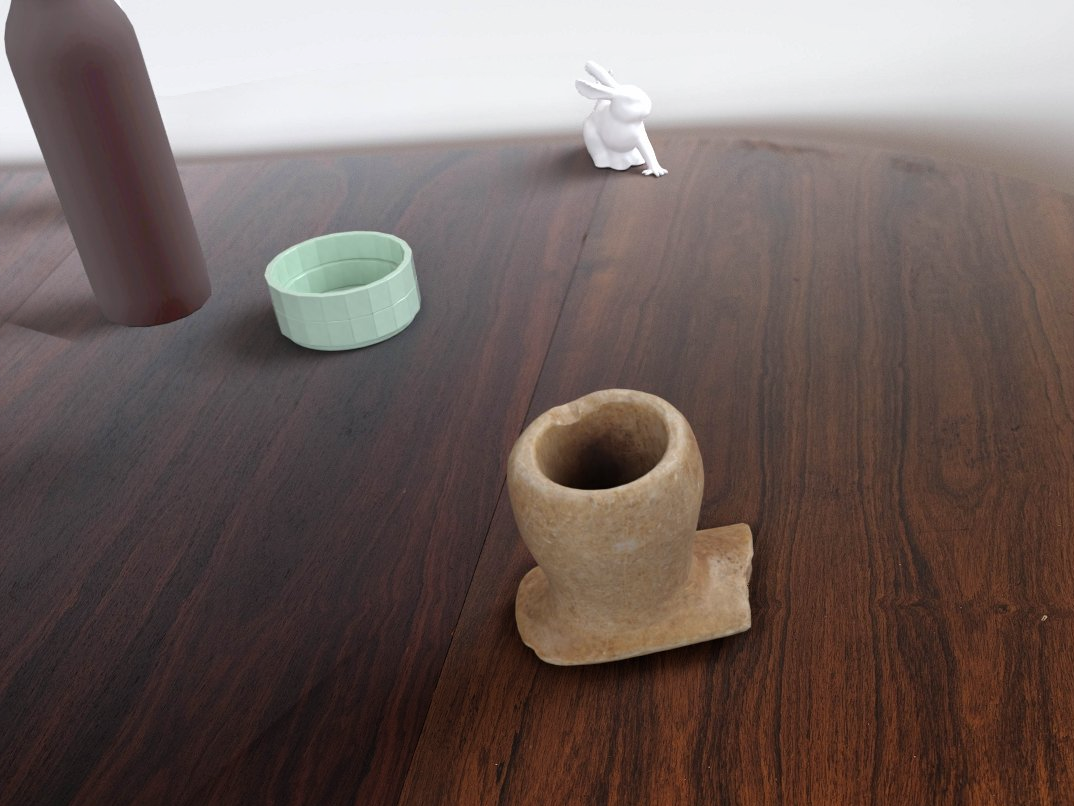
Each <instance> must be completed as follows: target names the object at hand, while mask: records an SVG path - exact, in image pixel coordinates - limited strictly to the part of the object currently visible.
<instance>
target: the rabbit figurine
mask: <svg viewBox="0 0 1074 806" xmlns="http://www.w3.org/2000/svg"><path fill="white" fill-rule="evenodd" d="M584 70H585V72H586V73H587V74H589V75H590V76H592V77H593V78H595V82H596V83H594V82H590V81H587V80H584V79H579V78H578V79H576V80H575V82H574V83H575V89H576V91H577V93H578V94H579V95H581V96H582V97H584V98H586V99H588V100H596V102H595V105H594V106H593V111H591V112H590V113H589V114H588V116H586V117H585V118H584V120H583V121H582V136H583V140H584V144H585V147H586V149H587V152H588V154H589V155H590V157H591V159H592V160H593V163H594V166H595V167H597V168H611V169H614V170H616V171H623V170H628V169H629V168H630V167H631V166H639V165H643V164H646V166H647V167H648V168H647V169H644V170H643V171H642V172H641V174H644V175H645V176H649V175H651V174H654V175H655V176H656V177H660V176H664V175H665V174H669V172H668V170H667V169H664V168H662V166H660V165H659V162H658V160H657V157H656V154H655V151H654V149H653V146H652V144H651V142H650V140H649V137H648V135H647V132H646V129H645V125H644V122H643V120H644V119H646V118H648V117H649V116H650V114H651V111H652V101H651V99H650V97H649V96H648V94H647V93H646V92H645V91H643V90H642V89H641V88H639V87H638V86H636V85H633V84H619V83H617V81H616V80H615V79H614V77H613V76H614V73H613V70H612V69H611V68H610V69H609V70H608V71H607V70H606V69H605V68H604V67H602V66H601V65H598V64H597V63H596V62H594V61H593V60H588V61H586V62H585V64H584Z"/></svg>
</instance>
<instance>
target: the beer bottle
mask: <svg viewBox="0 0 1074 806" xmlns="http://www.w3.org/2000/svg"><path fill="white" fill-rule="evenodd" d="M9 4H10V5H9V9H8V13H7V16H6V20H5V24H4V35H3V36H4V37H3V39H4V50H5V55H6V58H7V62H8V64H9V67H10V70H11V73H12V76H13V78H14V82H15V85H16V87H17V90H18V92H19V95H20V98H21V100H22V104H23V105H24V109H25V111H26V114H27V117H28V119H29V122H30V125H31V128H32V130H33V133H34V135H35V139H36V141H37V144H38V147H39V149H40V152H41V155H42V158H43V160H44V163H45V165H46V168H47V171H48V174H49V176H50V179H51V182H52V185H53V187H54V191H55V193H56V196H57V198H58V201H59V203H60V206H61V209H62V211H63V214H64V217H65V220H66V223H67V225H68V228H69V230H70V233H71V237H72V239H73V242H74V244H75V247H76V249H77V252H78V255H79V258H80V261H81V263H82V265H83V269H84V271H85V273H86V274H85V275H86V277H87V280H88V282H89V284H90V285H89V286H90V288H91V290H92V292H93V295H94V297H95V299H96V302H97V304H98V306H99V308H100V310H101V312H102V315H103V316H104V317H105V318H106V319H107V320H108V321H109V322H111V323H113V324H117V325H120V326H124V327H128V328H151V327H156V326H162V325H163V326H164V325H168V324H171V323H174V322H177V321H180V320H183V319H185V318H187V317H189V316H190V315H193V314H194V313H196V312H197V311H199V310H200V309H202V308H203V306H204V305H206V303H207V301H209V300H210V298H211V296H212V284H211V279H210V275H209V270H208V266H207V263H206V259H205V256H204V252H203V249H202V246H201V242H200V239H199V235H198V233H197V229H196V226H195V223H194V220H193V216H192V212H191V210H190V207H189V203H188V200H187V196H186V192H185V190H184V187H183V183H182V180H181V176H180V174H179V170H178V167H177V164H176V160H175V157H174V154H173V150H172V147H171V144H170V139H169V137H168V134H167V130H166V127H165V124H164V120H163V118H162V114H161V110H160V108H159V105H158V101H157V97H156V94H155V91H154V87H153V84H152V82H151V78H150V75H149V71H148V67H147V65H146V62H145V58H144V55H143V51H142V49H141V48H142V47H141V44H140V42H139V39H138V35H137V33H136V31H135V28H134V25H133V24H132V22H131V20H130V19H129V17H128V15H127V14H126V12H125V11H124V10H123V8H122V9H121V8H120V6H119V5H118V4H117V3H116V1H114V0H10V3H9Z"/></svg>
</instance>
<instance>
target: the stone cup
mask: <svg viewBox="0 0 1074 806" xmlns="http://www.w3.org/2000/svg"><path fill="white" fill-rule="evenodd" d="M506 484H507V490H508V491H507V493H508V496H509V500H510V504H511V509H512V512H513V517H514V520H515V524H516V527H517V529H518V532H519V534H520V537H521V538H522V540H523V542H524V544H525V546H526V547H527V549H528V551H529V552H530V554H531V556H532V558H533V559H534V560H535V563H536V564H537V566H535V567H534V568H532V569H531V570H530V571H528V572H527V573H525V575H524V577H523V578H522V579H521V581H520V583H519V585H518V589H517V593H516V597H515V621H516V625H517V631H518V633H519V636H520V638H521V641H522V642H523V643H524V645H526V646H527V647H529V648H530V649H532V651H533V650H534V653H535V654H536V656H537V657H538V658H539V659H540V660H542V661H543V662H545V663H547V664H552V665H555V666H581V665H595V664H602V663H609V662H615V661H621V660H625V659H626V660H627V659H630V658H631V659H632V658H635V657H640V656H645V655H649V654H654V653H659V652H663V651H669V650H674V649H678V648H681V647H685V646H690V645H695V644H699V643H702V642H709V641H712V640H717V639H721V638H725V637H729V636H733V635H736V634H737V635H738V634H740V633H743V632H747V631H748V630H749V629H750V628H751V627H752V615H751V606H750V605H751V604H750V601H749V597H750V594H749V591H750V590H749V584H748V583H750V580H751V575H752V572H753V565H752V559H753V556H754V543H753V533H752V531H751V527H750V526H749V524H747V523H744V522H740V523H735V524H730V525H724V526H719V527H714V528H707V529H700V530H697V528H698V524H699V523H698V522H699V517H700V513H701V512H700V511H701V507H702V502H703V497H704V488H705V487H704V486H705V472H704V464H703V459H702V455H701V452H700V447H699V445H698V441H697V439H696V437H695V434H694V432H693V429H692V427H691V425H690V423H689V422H688V420H687V418H686V417H685V415H683V413H681V411H679V410H678V409H677V408H675V406H673V405H672V404H671V403H670V402H669V401H667V400H666V399H663V398H662V397H659V396H658V395H656V394H652V393H648V392H645V391H641V390H640V391H639V390H635V389H625V388H610V389H609V388H608V389H603V390H597V391H594V392H591V393H587V394H585V395H583V396H581V397H579V398H576V399H574V400H572V401H569V402H567V403H565V404H561V405H557V406H553V407H551V408H550V409H548V410H546V411H545V412H543V413H541V414H540V415H538V417H536V418H535V419H533V420H532V422H530V424H529V425H528V426H527V427H525V429H524V430H523V432H521V434H520V435H519V437H518V438H517V439H516V441H515V442H514V444H513V446H512V449H511V451H510V454H509V456H508V459H507V470H506ZM747 585H748V586H747Z"/></svg>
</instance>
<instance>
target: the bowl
mask: <svg viewBox="0 0 1074 806" xmlns="http://www.w3.org/2000/svg"><path fill="white" fill-rule="evenodd" d="M263 275H264V280H265V283H266V287H267V291H268V294H269V298H270V302H271V305H272V308H273V312H274V316H275V319H276V323H277V326H278V328H279V330H280V332H281V334H282V335H283V336H285V337H286V338H287V339H289V340H291V341H292V342H293V343H295V344H297V345H298V346H301V347H304V348H307V349H311V350H317V351H329V352H330V351H331V352H332V351H333V352H334V351H347V350H354V349H359V348H364V347H365V348H366V347H368V346H372V345H375V344H378V343H381V342H384V341H386V340H388V339H391V338H392V337H394V336H396V335H398V334H400V333H401V332H402V331H404V330H405V329H406V328H408V327H409V326H410V324H411V323H412V322H413V321H414V319H415V317H416V315H417V314H418V313H419V311H420V309H421V303H422V302H421V301H422V297H421V291H420V286H419V281H418V277H417V271H416V265H415V261H414V255H413V249H412V248H411V247H410V245H409V244H408V243H407V241H405V240H404V239H401V238H400V237H398V236H396V235H394V234H389V233H385V232H379V231H369V230H368V231H367V230H366V231H365V230H353V231H352V230H351V231H341V232H334V233H329V234H325V235H321V236H317V237H313V238H310V239H306V240H304V241H302V242H299V243H297V244H295V245H291V246H290V247H288V248H287V249H285V250H283V251H282V252H280V253H278V254H276V256H275V257H274V258H273V259H272V260H271V261H270V262H269V263H268V264H267V266H266V268H265V271H264V274H263Z"/></svg>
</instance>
